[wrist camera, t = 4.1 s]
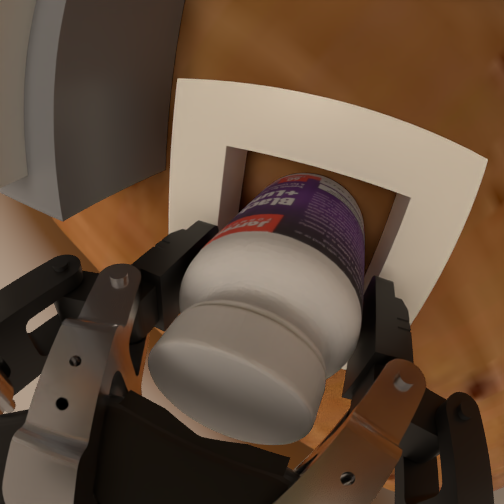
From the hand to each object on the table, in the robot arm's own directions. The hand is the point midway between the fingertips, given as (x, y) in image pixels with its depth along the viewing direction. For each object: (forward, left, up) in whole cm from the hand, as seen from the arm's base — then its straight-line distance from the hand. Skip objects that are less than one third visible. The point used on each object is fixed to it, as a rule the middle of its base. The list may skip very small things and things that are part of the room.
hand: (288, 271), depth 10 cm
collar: (0, 0, -4) cm, 4 cm away
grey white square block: (+16, -8, -4) cm, 18 cm away
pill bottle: (0, 0, -4) cm, 4 cm away
